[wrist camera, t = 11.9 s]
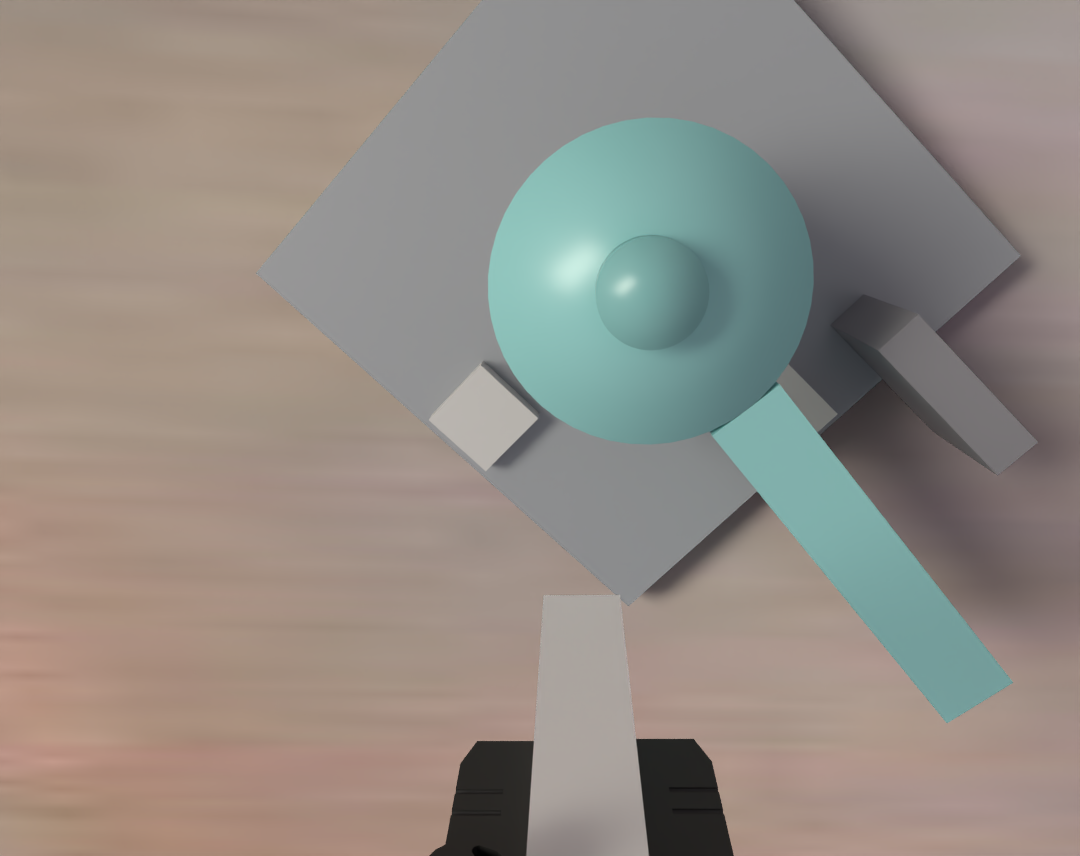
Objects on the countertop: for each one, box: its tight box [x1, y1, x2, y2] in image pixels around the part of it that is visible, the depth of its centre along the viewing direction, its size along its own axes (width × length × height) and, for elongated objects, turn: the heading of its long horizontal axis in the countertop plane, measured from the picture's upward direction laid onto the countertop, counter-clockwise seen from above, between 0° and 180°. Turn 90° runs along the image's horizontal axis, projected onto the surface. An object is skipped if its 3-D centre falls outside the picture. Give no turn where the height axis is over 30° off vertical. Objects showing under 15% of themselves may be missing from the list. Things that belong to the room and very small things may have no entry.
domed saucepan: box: [488, 118, 1013, 723], centre depth 26 cm, size 22×9×7 cm, turn 40°
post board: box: [256, 0, 1038, 606], centre depth 29 cm, size 20×23×6 cm
